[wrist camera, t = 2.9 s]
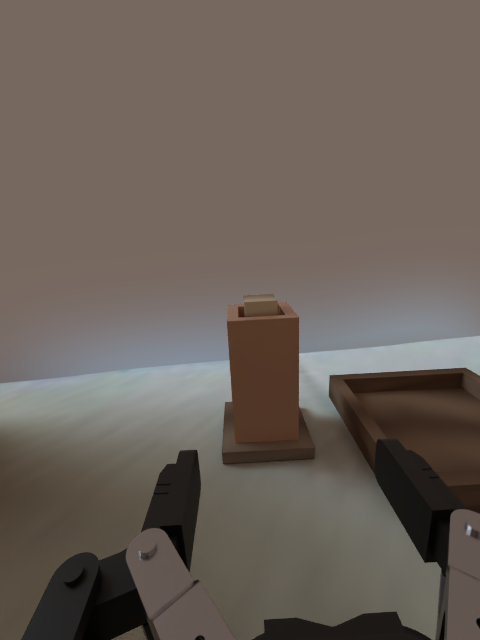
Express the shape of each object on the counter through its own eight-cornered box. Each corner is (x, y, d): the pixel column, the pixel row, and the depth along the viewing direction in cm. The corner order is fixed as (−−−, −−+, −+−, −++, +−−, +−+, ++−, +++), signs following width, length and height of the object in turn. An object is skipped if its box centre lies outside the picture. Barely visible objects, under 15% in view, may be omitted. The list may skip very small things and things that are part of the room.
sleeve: (298, 439, 23) (298, 317, 20) (235, 443, 23) (227, 321, 20) (287, 404, 28) (286, 301, 25) (235, 407, 28) (228, 305, 25)
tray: (639, 507, 17) (652, 474, 17) (402, 521, 17) (406, 488, 17) (461, 388, 31) (465, 367, 30) (328, 396, 31) (329, 375, 30)
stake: (314, 458, 22) (317, 305, 19) (223, 463, 22) (210, 311, 19) (296, 407, 29) (296, 287, 26) (225, 411, 29) (216, 292, 26)
